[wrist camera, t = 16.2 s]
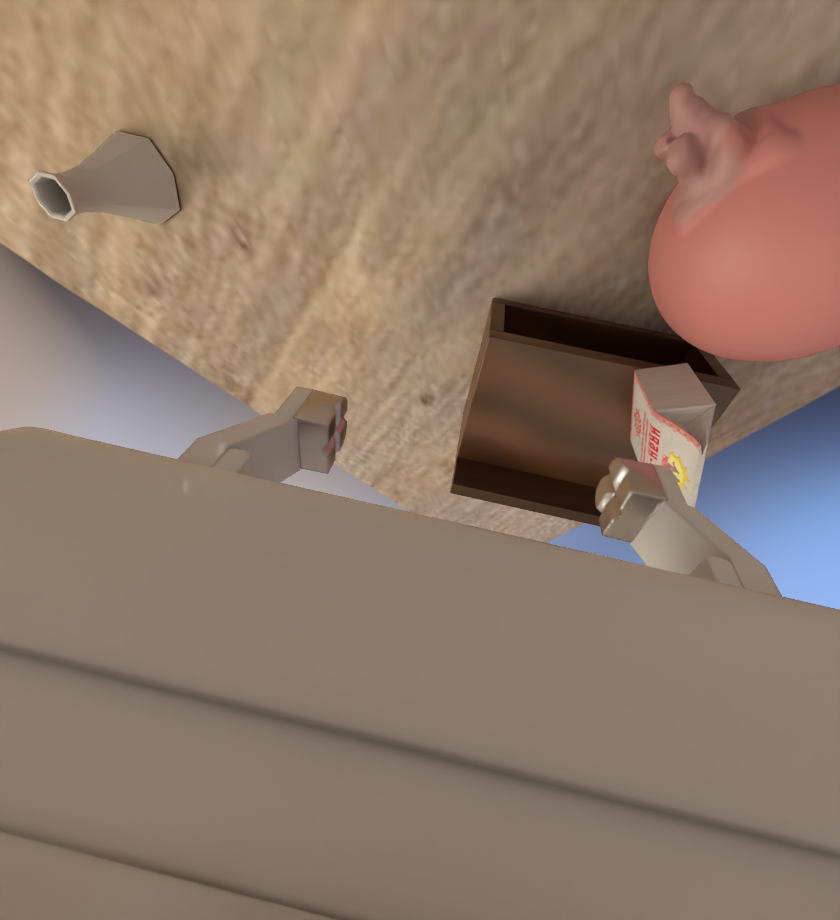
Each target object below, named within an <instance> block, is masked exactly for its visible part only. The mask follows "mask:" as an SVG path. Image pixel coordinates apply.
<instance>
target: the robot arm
mask: <svg viewBox="0 0 840 920" xmlns="http://www.w3.org/2000/svg"><path fill="white" fill-rule="evenodd" d="M346 411H347V399H346V397H342V396H338V395H334V394H329V393H325V392H321V391H317V390H313V389H308V388H304V387H296V388H295V389H294V390H293V392H292V393H291V394H290V395H289V397H288V398H287V399H286V400H285V402H284V403H283V404H282V405H281V407H280V408H279V409H278V410H277V412H276V413H275V414H272V413H269V414H266V415H263V416H260V417H257V418H255V419H252V420H249V421H246V422H243V423H240V424H237V425H235V426H232V427H229V428H226V429H223V430H220V431H217V432H215V433H212V434H209V435H206V436H203V437H200V438H198V439H196V441H195V442H194V443H193V444H192V445H191V446H190V447H189V448H188V449H187V450H186V451H185V452H184V453H183V454H182V455H181V456H180V457H179V458H178V459H173V458H168V457H164V456H160V455H156V454H151V453H147V452H142V451H138V450H134V449H129V448H125V447H120V446H116V445H111V444H107V443H102V442H98V441H94V440H89V439H85V438H80V437H76V436H72V435H68V434H64V433H60V432H56V431H52V430H48V429H43V428H35V427H21V428H15V429H9V430H3V431H0V920H840V610H839V609H834V608H830V607H825V606H821V605H816V604H812V603H808V602H803V601H799V600H794V599H790V598H786V597H782V595H781V594H780V592H779V590H778V588H777V586H776V584H775V583H774V581H773V579H772V577H771V575H770V574H769V572H768V570H767V568H766V567H765V566H764V565H763V564H762V563H761V562H759V561H758V560H757V559H756V558H755V557H753V556H752V555H751V554H750V553H748V552H747V551H746V550H745V549H744V548H742V547H741V546H740V545H739V544H738V543H736V542H735V541H734V540H733V539H732V538H730V537H729V536H728V535H727V534H726V533H724V532H723V531H722V530H721V529H720V528H718V527H717V526H716V525H715V524H713V523H712V522H711V521H710V520H709V519H707V518H706V517H705V516H704V515H702V514H701V513H700V512H699V511H698V510H697V509H695V508H694V507H693V506H688V505H687V503H686V500H685V498H684V496H683V494H682V492H681V489H680V487H679V485H678V483H677V480H676V478H675V476H674V474H673V472H672V470H671V469H670V468H669V467H666V466H661V465H656V464H649V463H644V462H639V461H634V460H629V459H624V458H619V457H616V458H614V459H613V460H612V462H611V463H610V465H609V467H608V468H609V472H610V474H608V475H606V476H605V477H603V478H601V480H600V482H599V484H598V486H597V489H596V493H595V504H596V508H597V509H598V510H599V511H600V512H601V513H602V514H601V515H600V517H599V518H598V519H599V524H600V528H601V533H602V536H606V537H610V538H614V539H618V540H622V541H626V542H630V543H631V545H632V546H633V548H634V549H635V550H636V552H637V553H638V554H639V556H640V557H641V558H642V560H643V561H644V562H645V563H646V565H647V566H645V565H641V564H636V563H632V562H627V561H623V560H619V559H614V558H609V557H605V556H601V555H596V554H592V553H588V552H583V551H579V550H574V549H570V548H566V547H561V546H557V545H552V544H548V543H544V542H539V541H535V540H530V539H526V538H521V537H517V536H513V535H508V534H504V533H499V532H495V531H491V530H486V529H482V528H477V527H473V526H469V525H464V524H460V523H455V522H451V521H447V520H442V519H438V518H433V517H429V516H425V515H420V514H416V513H411V512H407V511H402V510H398V509H394V508H389V507H385V506H380V505H376V504H372V503H367V502H363V501H358V500H354V499H350V498H345V497H341V496H336V495H332V494H328V493H323V492H319V491H314V490H310V489H306V488H301V487H297V486H292V485H288V484H283V483H280V482H281V481H283V480H285V479H286V478H288V477H289V476H291V475H293V474H294V473H296V472H298V471H299V470H300V468H301V469H307V470H312V471H317V472H322V473H327V474H328V473H329V471H330V469H331V467H332V465H333V463H334V461H335V453H336V452H338V451H340V449H341V447H342V445H343V442H344V439H345V435H346V428H347V421H346V420H345V418H344V415H345V413H346Z"/></svg>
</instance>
